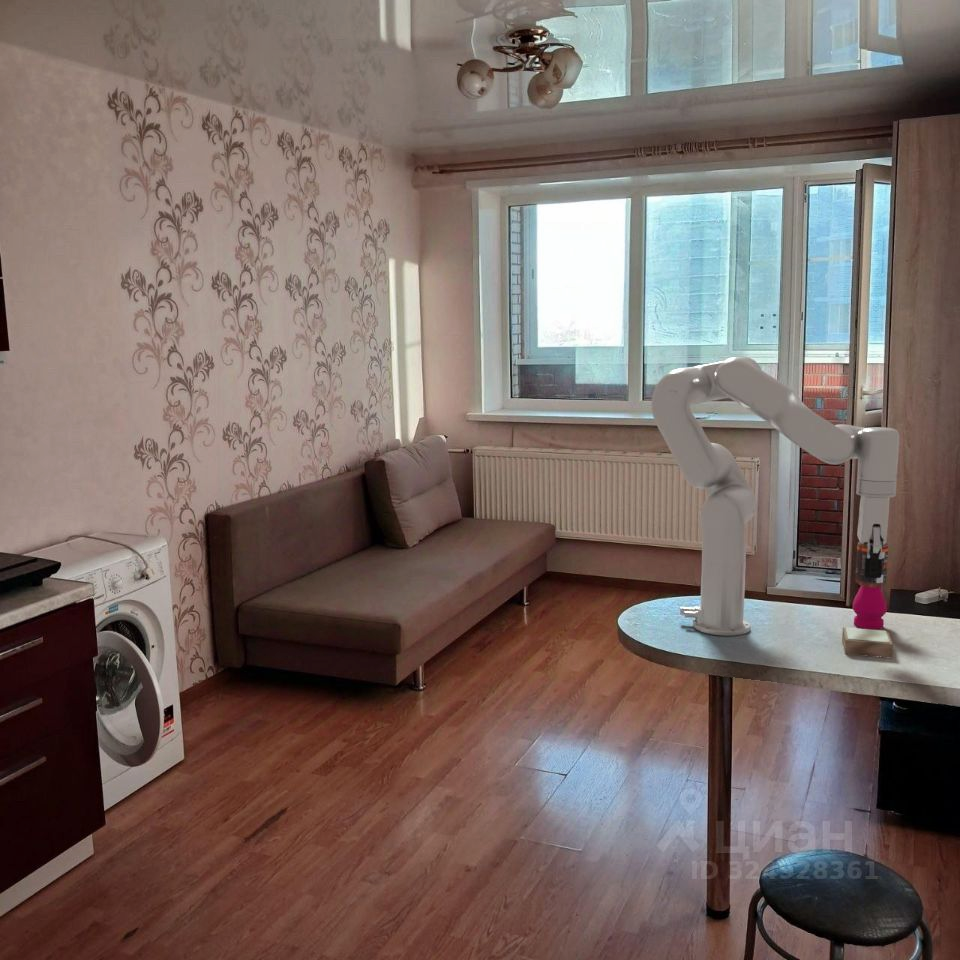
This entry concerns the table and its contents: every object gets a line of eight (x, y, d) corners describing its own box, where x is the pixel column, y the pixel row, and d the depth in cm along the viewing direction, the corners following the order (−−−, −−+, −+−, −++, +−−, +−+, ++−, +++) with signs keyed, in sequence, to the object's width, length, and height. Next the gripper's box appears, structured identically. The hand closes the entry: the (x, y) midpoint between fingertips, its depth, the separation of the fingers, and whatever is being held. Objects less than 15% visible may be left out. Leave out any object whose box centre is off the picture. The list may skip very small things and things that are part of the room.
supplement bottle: (888, 589, 198) (892, 535, 196) (858, 587, 199) (861, 533, 197) (882, 581, 204) (885, 529, 202) (852, 580, 205) (855, 528, 203)
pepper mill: (888, 631, 215) (894, 544, 212) (854, 629, 217) (859, 542, 213) (882, 622, 222) (887, 537, 219) (848, 620, 224) (854, 535, 220)
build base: (845, 654, 200) (845, 639, 200) (841, 640, 209) (842, 626, 208) (891, 658, 198) (892, 643, 197) (886, 644, 206) (887, 630, 206)
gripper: (853, 480, 207) (848, 562, 210) (860, 493, 191) (855, 582, 194) (891, 482, 205) (885, 565, 208) (901, 495, 189) (895, 585, 192)
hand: (871, 572), depth 201 cm, fingers closed on supplement bottle, 6 cm apart
